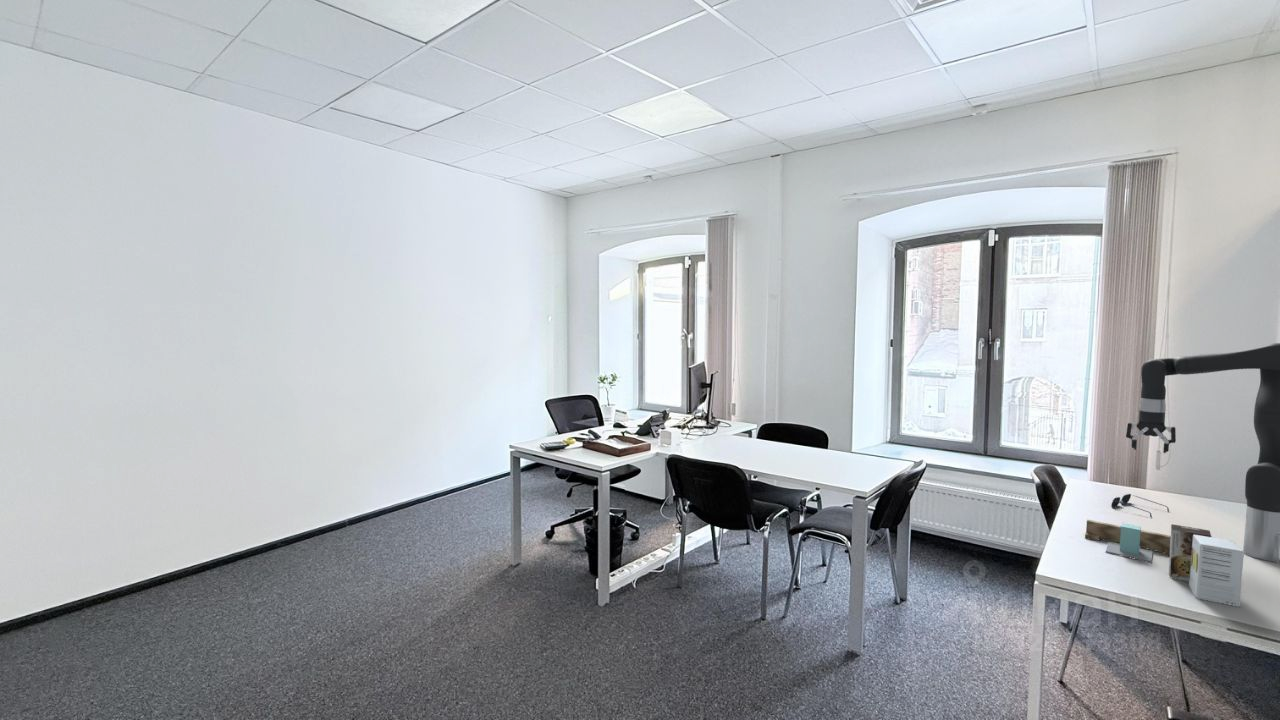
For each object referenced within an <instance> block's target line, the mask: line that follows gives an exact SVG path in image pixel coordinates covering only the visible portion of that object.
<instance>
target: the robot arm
mask: <svg viewBox="0 0 1280 720" xmlns="http://www.w3.org/2000/svg"><path fill="white" fill-rule="evenodd" d="M1251 369H1252V370H1257V369H1258V370H1259V375H1260V384H1259V387H1258V391H1257V393H1256V398H1255V401H1254V402H1255V404H1254V409H1253V427H1254V431H1255V434H1256V438H1257V441H1258V445H1259V455H1258V460H1257V463H1256V464H1254V465H1252V466H1250V467H1249V468H1248V469H1247V471H1246V474H1245V479H1244V480H1245V483H1244V486H1245V487H1244V496H1245V500H1246V508H1245V509H1246V511H1245V520H1244V521H1245V522H1244V535H1243V536H1244V537H1243V546H1242V547H1243V549H1242V550H1243V551H1244V555H1247V556H1250V557H1252V558H1256V559H1259V560H1265V561H1269V562H1271V561H1272V562H1274V563H1279V562H1280V342H1276V343H1275V342H1274V343H1269V344H1267V345H1265V346H1261V347H1257V348H1252V349H1248V350H1241V351H1234V352H1233V351H1232V352H1218V353H1217V352H1216V353H1215V352H1214V353H1200V354H1190V355H1185V356H1183V355H1182V356H1177V357H1166V358H1165V357H1163V358H1154V359H1153V358H1152V359H1149V360H1146V361H1144V363H1143V364H1142V366H1141V369H1140V370H1141V372H1140V377H1141V384H1142V385H1141V390H1140V391H1141V392H1140V400H1139V406H1138V411H1139V412H1138V422H1137V423H1132V422H1128V423H1127V428H1126V434H1125V438H1126V439H1130V440H1131V449H1133V450H1134V451H1135V450H1137V444H1138V443H1137V442H1138V440H1137V439H1138V438H1139V437H1141V436H1142V435H1144V436H1145V437H1148V436H1149V437H1159V438H1160V439H1161V440H1162V442H1163V450H1162V451H1163V454H1166V453H1168V452H1169V448H1170V444H1175V443H1177V442H1176V440H1177V438H1176V432H1177V431H1176V426H1166V425H1165V422H1166V421H1165V420H1166V411H1167V410H1166V409H1167V407H1166V406H1167V405H1166V393H1167V389H1166V386H1165V382H1166V376H1175V375H1181V376H1183V375H1197V374H1208V373H1216V372H1217V373H1218V372H1224V371H1225V372H1226V371H1233V370H1251ZM1134 428H1137V429H1138V432H1136V433H1135V434H1134V435H1132V430H1133V429H1134ZM1165 431H1168V433H1170V437H1171V438H1169V439H1168V438H1167V437H1166V436H1165V434H1164V432H1165Z"/></svg>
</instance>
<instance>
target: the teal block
mask: <svg viewBox="0 0 1280 720" xmlns="http://www.w3.org/2000/svg"><path fill="white" fill-rule="evenodd" d="M1120 526H1121V537H1120V543H1119V544H1120V551H1122V552H1127V553H1131V554H1136V555H1139V549H1140V533H1141V530H1142V526H1140V525H1135V524H1130V523H1126V522H1121V525H1120Z"/></svg>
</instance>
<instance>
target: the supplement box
mask: <svg viewBox="0 0 1280 720" xmlns="http://www.w3.org/2000/svg"><path fill="white" fill-rule="evenodd" d="M1244 556H1245V553H1244V551H1243V549H1242V548H1241V547H1240V546H1239V545H1238V544H1237V543H1236V541H1234V540H1229V539H1224V538H1217V537H1206V536H1200V535H1193V542H1192V556H1191V569H1190V582H1189V581H1188V582H1189V583H1188V587H1189V589H1190V590H1191V591H1192V594H1193V595H1194V597H1195V598H1196V599H1198V600H1202V601H1207V600H1208V602H1213V603H1217V602H1219V603H1218V604H1222V603H1224V604H1223V605H1226V604H1228V606H1231V605H1233V606H1232V607H1236V606H1237V607H1236V608H1240V606H1241V605H1240V604H1241V592H1242V582H1243V581H1242V577H1243V568H1244V558H1245V557H1244Z"/></svg>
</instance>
